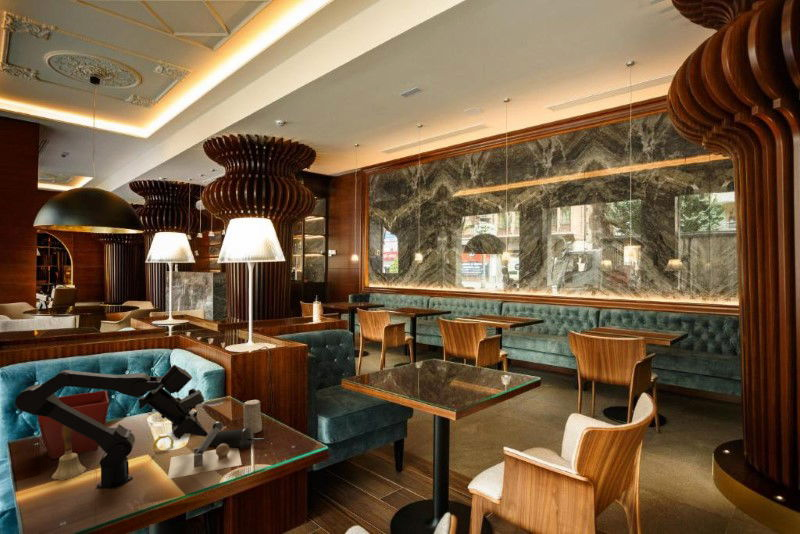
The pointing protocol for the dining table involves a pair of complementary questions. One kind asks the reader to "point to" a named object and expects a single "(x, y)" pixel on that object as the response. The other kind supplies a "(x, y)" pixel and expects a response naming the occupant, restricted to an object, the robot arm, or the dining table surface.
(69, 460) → the hand bell
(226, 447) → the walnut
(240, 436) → the drinking cup
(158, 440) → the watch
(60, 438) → the plant pot
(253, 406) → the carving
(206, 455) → the board
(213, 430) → the lever
